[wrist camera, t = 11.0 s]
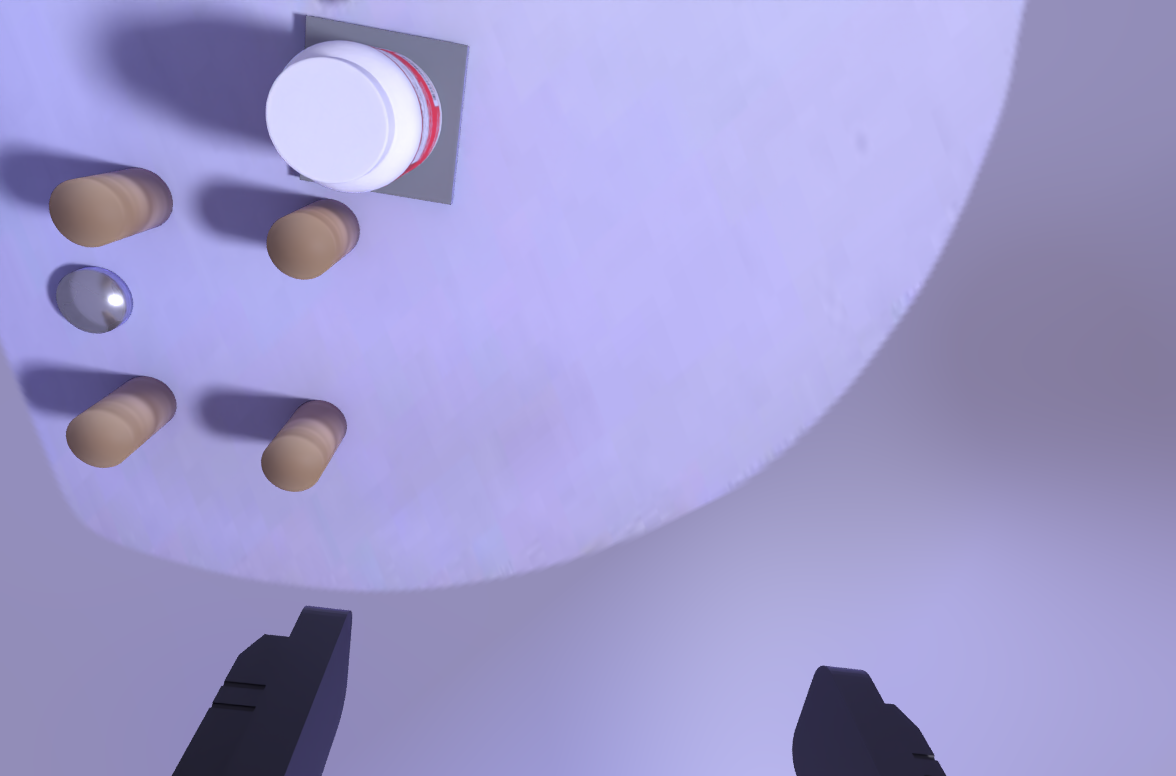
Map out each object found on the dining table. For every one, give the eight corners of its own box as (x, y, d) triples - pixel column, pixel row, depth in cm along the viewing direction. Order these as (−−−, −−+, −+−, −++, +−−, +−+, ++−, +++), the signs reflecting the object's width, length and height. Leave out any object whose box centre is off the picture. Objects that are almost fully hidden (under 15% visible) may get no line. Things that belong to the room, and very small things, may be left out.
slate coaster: (310, 16, 39) (306, 15, 38) (469, 46, 40) (467, 45, 39) (304, 178, 42) (299, 179, 41) (452, 202, 43) (450, 204, 42)
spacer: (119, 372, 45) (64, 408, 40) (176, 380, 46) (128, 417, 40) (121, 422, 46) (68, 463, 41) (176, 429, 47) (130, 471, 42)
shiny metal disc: (66, 260, 43) (53, 265, 42) (134, 270, 43) (123, 275, 42) (70, 322, 44) (58, 328, 43) (136, 331, 45) (125, 337, 44)
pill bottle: (314, 155, 41) (233, 177, 30) (334, 32, 38) (255, 11, 28) (430, 189, 41) (390, 221, 31) (456, 70, 39) (423, 64, 29)
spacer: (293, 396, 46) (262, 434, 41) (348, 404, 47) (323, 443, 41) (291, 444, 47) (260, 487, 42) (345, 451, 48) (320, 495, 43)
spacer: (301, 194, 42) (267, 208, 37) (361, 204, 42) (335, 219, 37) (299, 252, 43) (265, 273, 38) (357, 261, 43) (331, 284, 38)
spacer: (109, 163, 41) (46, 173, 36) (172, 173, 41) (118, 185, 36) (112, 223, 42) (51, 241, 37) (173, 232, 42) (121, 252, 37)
